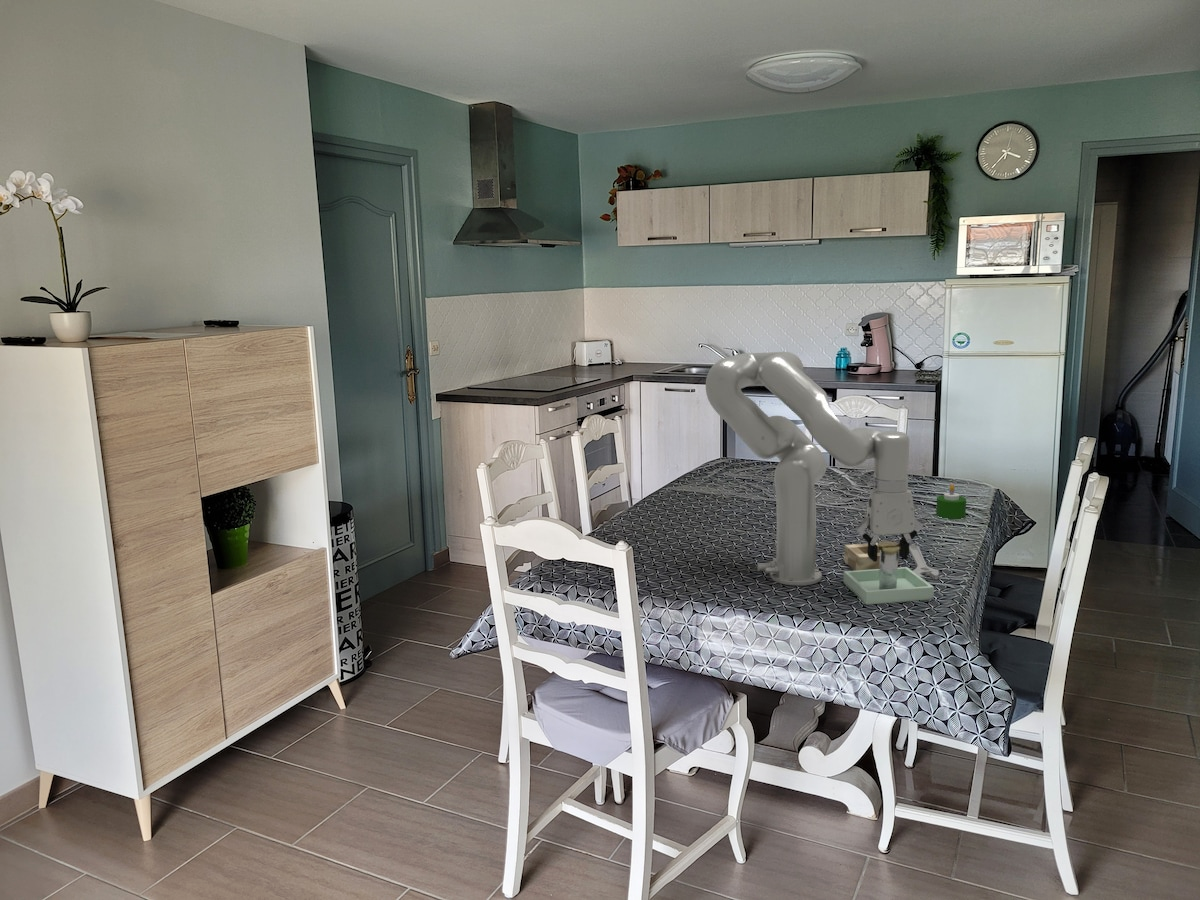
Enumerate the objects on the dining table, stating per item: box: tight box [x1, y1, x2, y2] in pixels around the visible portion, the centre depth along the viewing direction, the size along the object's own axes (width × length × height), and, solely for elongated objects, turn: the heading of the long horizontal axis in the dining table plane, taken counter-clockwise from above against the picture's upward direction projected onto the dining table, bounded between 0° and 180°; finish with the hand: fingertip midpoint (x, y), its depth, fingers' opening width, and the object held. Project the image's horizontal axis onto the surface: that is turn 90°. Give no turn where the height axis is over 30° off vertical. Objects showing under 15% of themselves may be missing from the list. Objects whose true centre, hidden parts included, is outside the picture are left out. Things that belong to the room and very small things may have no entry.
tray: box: [842, 566, 935, 605], centre depth 208 cm, size 16×14×3 cm
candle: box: [935, 483, 967, 520], centre depth 265 cm, size 8×8×10 cm
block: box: [843, 542, 899, 571], centre depth 224 cm, size 10×10×4 cm
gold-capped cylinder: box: [877, 540, 901, 590], centre depth 207 cm, size 5×5×11 cm
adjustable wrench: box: [909, 544, 940, 580], centre depth 225 cm, size 25×6×2 cm, turn 164°
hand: (888, 558), depth 206 cm, fingers open, 6 cm apart
